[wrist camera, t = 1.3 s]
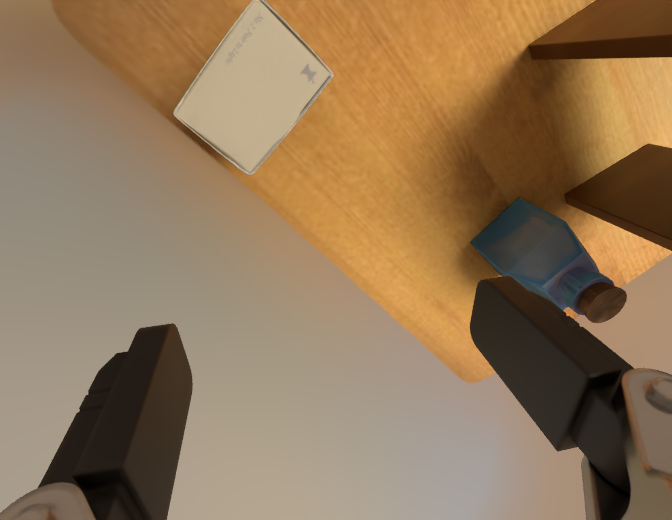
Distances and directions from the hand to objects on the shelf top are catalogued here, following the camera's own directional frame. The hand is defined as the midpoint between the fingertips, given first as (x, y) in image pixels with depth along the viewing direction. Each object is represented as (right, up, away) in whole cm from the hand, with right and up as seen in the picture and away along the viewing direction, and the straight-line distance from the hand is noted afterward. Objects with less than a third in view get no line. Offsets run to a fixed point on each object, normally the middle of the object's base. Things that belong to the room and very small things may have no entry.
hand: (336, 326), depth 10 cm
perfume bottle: (+18, +4, +27) cm, 33 cm away
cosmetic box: (-6, +15, +17) cm, 23 cm away
